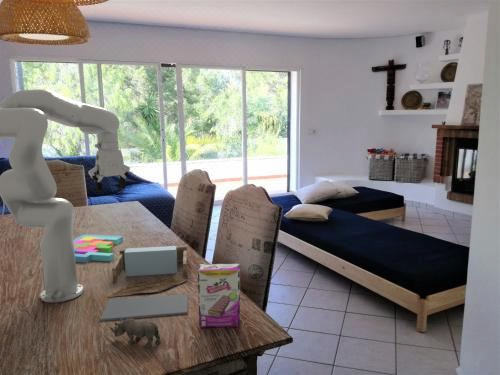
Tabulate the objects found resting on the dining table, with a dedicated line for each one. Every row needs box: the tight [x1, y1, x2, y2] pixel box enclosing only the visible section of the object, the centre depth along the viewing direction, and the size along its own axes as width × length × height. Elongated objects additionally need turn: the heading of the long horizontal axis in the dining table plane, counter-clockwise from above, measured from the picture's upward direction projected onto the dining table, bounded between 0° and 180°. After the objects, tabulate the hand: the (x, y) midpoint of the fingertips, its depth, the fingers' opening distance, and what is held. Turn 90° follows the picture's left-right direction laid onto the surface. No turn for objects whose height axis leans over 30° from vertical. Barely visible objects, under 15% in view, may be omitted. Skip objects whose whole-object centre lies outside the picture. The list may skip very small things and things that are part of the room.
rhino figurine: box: [109, 318, 162, 348], centre depth 100 cm, size 4×14×6 cm, turn 75°
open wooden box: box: [111, 245, 188, 283], centre depth 147 cm, size 17×25×6 cm
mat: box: [99, 293, 189, 322], centre depth 118 cm, size 12×24×1 cm, turn 98°
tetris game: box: [73, 233, 124, 263], centre depth 171 cm, size 28×3×28 cm
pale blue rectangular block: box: [124, 245, 178, 277], centre depth 145 cm, size 4×18×9 cm, turn 98°
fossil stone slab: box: [107, 276, 188, 298], centre depth 132 cm, size 26×11×1 cm, turn 114°
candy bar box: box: [197, 263, 241, 328], centre depth 107 cm, size 11×5×16 cm, turn 92°
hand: (111, 190), depth 156 cm, fingers open, 9 cm apart
